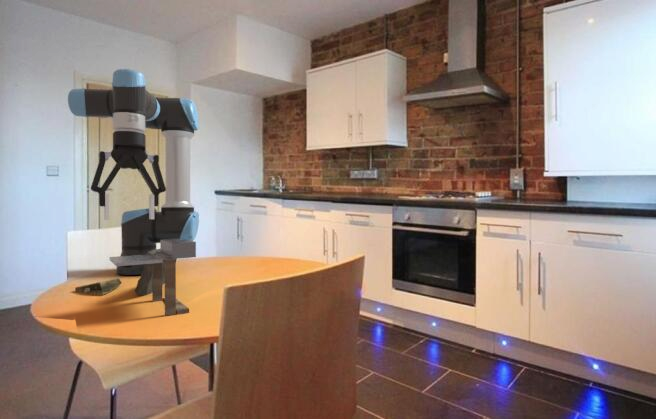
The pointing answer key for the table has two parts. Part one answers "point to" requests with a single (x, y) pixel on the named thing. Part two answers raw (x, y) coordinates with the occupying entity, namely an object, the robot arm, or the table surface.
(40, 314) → the table surface
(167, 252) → the trapdoor
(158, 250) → the marble piece
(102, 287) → the rock
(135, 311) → the table surface
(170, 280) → the frame
